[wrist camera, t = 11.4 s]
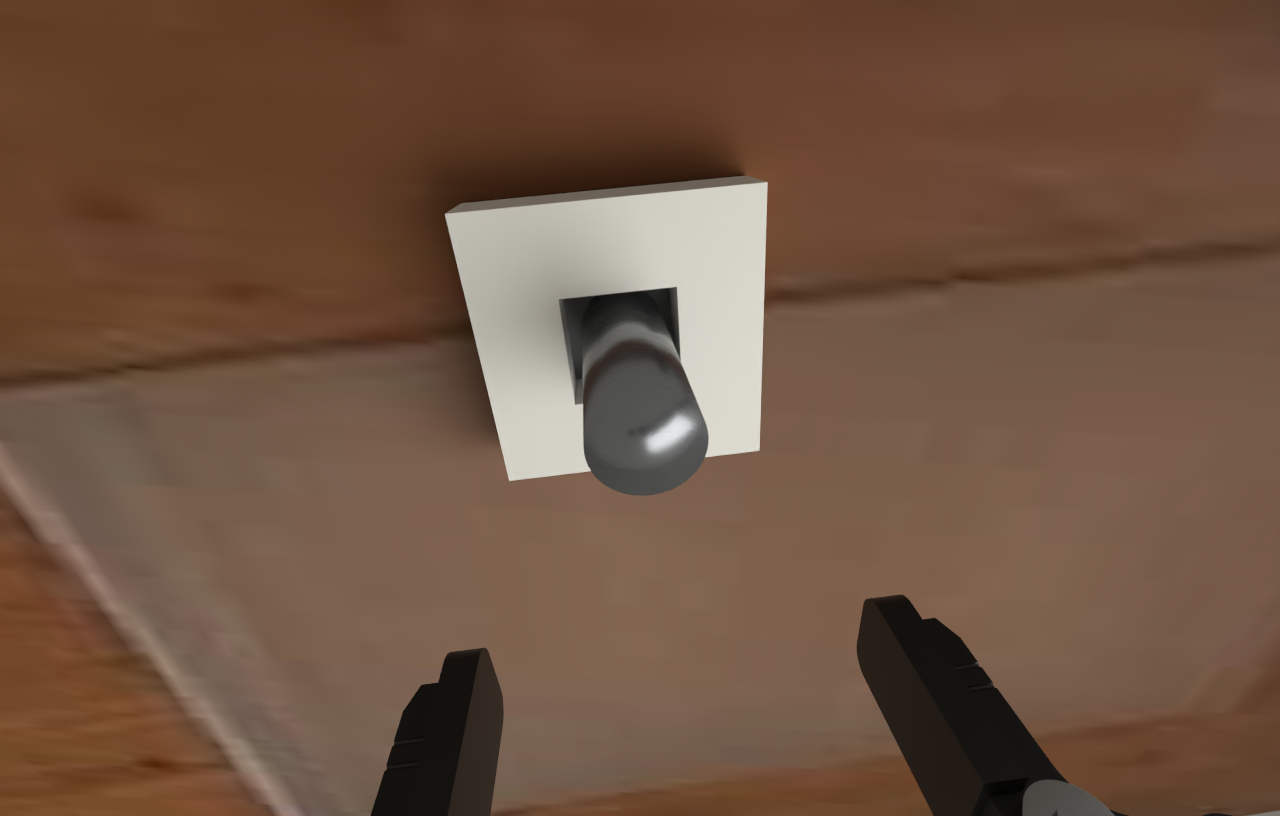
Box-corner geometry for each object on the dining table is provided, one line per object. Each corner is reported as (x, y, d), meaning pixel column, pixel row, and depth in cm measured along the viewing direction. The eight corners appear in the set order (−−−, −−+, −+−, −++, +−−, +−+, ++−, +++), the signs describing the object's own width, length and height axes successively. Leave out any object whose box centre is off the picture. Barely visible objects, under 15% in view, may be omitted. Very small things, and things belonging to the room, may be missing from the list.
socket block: (745, 175, 26) (767, 182, 23) (742, 420, 33) (759, 450, 30) (461, 203, 26) (444, 214, 23) (516, 446, 32) (509, 480, 29)
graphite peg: (660, 282, 28) (708, 382, 18) (664, 358, 30) (709, 488, 20) (576, 290, 28) (575, 397, 17) (587, 366, 30) (591, 502, 20)
